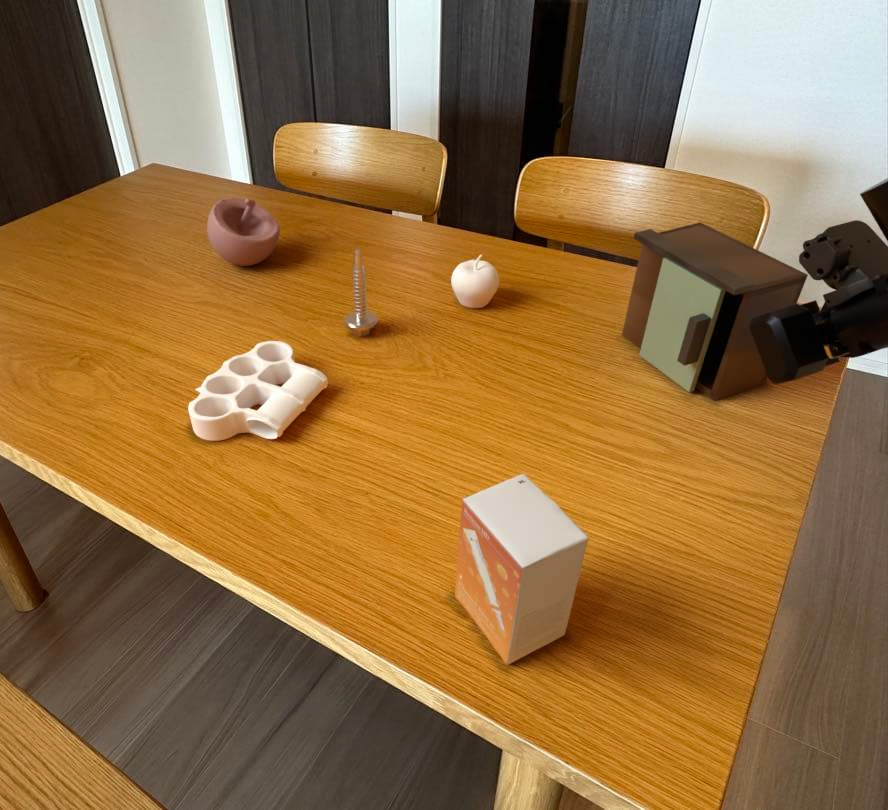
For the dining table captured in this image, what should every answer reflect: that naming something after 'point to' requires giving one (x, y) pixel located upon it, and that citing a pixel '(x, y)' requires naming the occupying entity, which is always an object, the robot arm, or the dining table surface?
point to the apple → (475, 283)
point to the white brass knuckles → (255, 394)
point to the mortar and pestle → (242, 231)
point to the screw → (360, 301)
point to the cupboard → (747, 296)
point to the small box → (518, 566)
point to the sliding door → (681, 323)
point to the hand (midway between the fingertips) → (772, 347)
